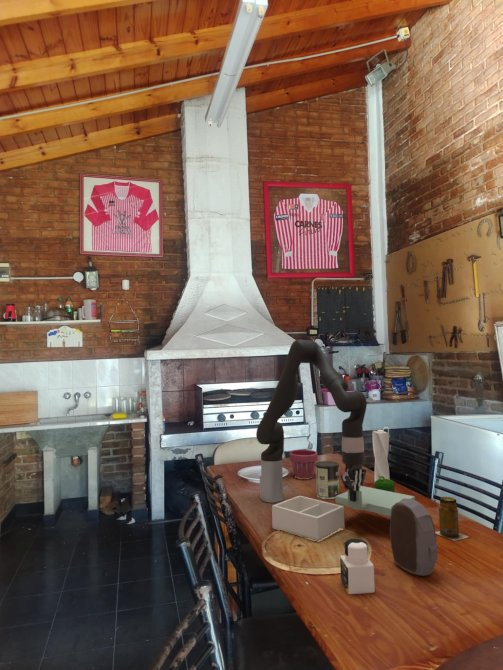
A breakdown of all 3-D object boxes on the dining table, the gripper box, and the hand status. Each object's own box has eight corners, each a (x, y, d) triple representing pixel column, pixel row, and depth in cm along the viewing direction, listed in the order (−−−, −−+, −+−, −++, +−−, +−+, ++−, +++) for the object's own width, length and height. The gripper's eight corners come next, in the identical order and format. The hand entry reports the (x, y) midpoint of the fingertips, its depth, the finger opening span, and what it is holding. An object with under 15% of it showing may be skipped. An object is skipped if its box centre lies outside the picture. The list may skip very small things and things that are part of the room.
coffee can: (339, 492, 207) (339, 461, 208) (339, 499, 197) (338, 466, 198) (316, 492, 209) (316, 460, 210) (315, 498, 199) (314, 465, 200)
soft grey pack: (386, 561, 137) (384, 493, 138) (408, 556, 140) (406, 489, 141) (423, 584, 123) (421, 508, 124) (447, 577, 127) (444, 503, 128)
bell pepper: (393, 496, 201) (392, 472, 201) (397, 502, 193) (396, 477, 193) (373, 495, 202) (372, 472, 202) (376, 501, 193) (375, 477, 194)
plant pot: (319, 481, 227) (319, 454, 228) (291, 481, 228) (290, 455, 228) (316, 473, 242) (315, 449, 242) (289, 474, 242) (288, 449, 242)
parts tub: (272, 528, 166) (272, 505, 166) (299, 516, 177) (299, 495, 178) (318, 542, 152) (317, 518, 152) (344, 529, 163) (343, 506, 164)
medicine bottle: (340, 581, 126) (339, 536, 126) (366, 580, 126) (364, 535, 127) (348, 595, 118) (346, 547, 119) (375, 593, 119) (373, 545, 120)
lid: (327, 506, 165) (326, 485, 165) (361, 492, 182) (360, 473, 182) (383, 520, 150) (382, 497, 150) (414, 503, 166) (414, 482, 167)
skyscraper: (393, 486, 215) (391, 426, 216) (389, 490, 209) (386, 428, 210) (376, 484, 219) (374, 425, 221) (371, 488, 213) (369, 427, 214)
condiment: (448, 529, 162) (447, 494, 162) (469, 537, 154) (467, 501, 155) (433, 533, 158) (432, 497, 159) (453, 541, 151) (452, 504, 151)
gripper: (354, 445, 166) (355, 494, 166) (332, 451, 157) (334, 503, 156) (372, 447, 161) (374, 498, 160) (351, 454, 151) (353, 507, 150)
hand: (354, 500), depth 158 cm, fingers closed on lid, 1 cm apart
